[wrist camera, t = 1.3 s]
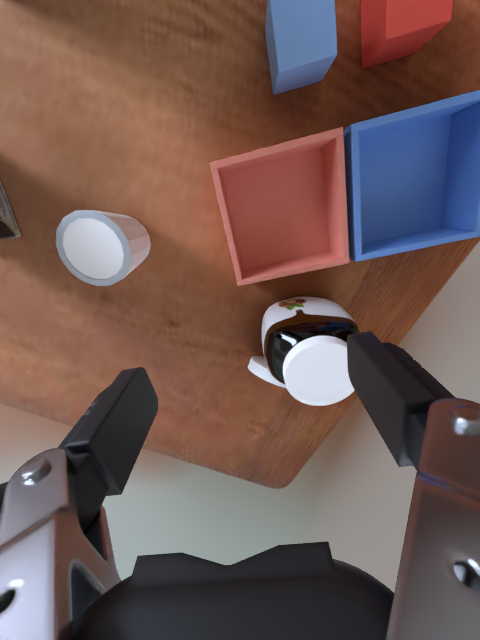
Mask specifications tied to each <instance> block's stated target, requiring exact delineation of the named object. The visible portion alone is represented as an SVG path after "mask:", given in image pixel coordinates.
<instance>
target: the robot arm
mask: <svg viewBox="0 0 480 640" xmlns="http://www.w3.org/2000/svg"><path fill="white" fill-rule="evenodd" d="M347 363H348V375H349V379H350V382H351V384H352V386H353V388H354V390H355V392H356V393H357V395H358V397H359V398H360V400H361V402H362V403H363V405H364V407H365V409H366V411H367V412H368V414H369V416H370V417H371V419H372V421H373V422H374V424H375V426H376V428H377V430H378V431H379V433H380V435H381V436H382V438H383V440H384V442H385V443H386V445H387V447H388V449H389V450H390V452H391V454H392V455H393V457H394V459H395V461H396V462H397V464H398V466H399V467H403V466H414V467H415V468H416V470H417V474H416V478H415V483H414V489H413V495H412V500H411V505H410V511H409V516H408V522H407V527H406V533H405V538H404V544H403V549H402V555H401V560H400V566H399V571H398V576H397V582H396V587H395V593H393V592H392V591H391V590H390V589H389V588H387V587H386V586H385V585H384V584H382V583H381V582H380V581H378V580H377V579H375V578H374V577H373V576H371V575H369V574H368V573H366V572H364V571H362V570H361V569H359V568H357V567H355V566H352V565H350V564H348V563H345V562H342V561H338V560H335V559H332V555H331V551H330V547H329V543H328V542H315V543H303V544H289V545H278V546H276V547H273V548H271V549H269V550H266V551H264V552H261V553H259V554H256V555H254V556H252V557H249V558H247V559H245V560H242V561H240V562H237V563H235V564H232V565H222V564H219V563H215V562H212V561H209V560H205V559H201V558H198V557H195V556H192V555H188V554H185V553H170V554H156V555H143V556H138V557H137V560H136V563H135V567H134V570H133V573H132V576H130V577H128V578H126V579H124V580H123V581H121V579H120V577H119V575H118V572H117V569H116V565H115V560H114V555H113V550H112V544H111V539H110V533H109V528H108V522H107V517H106V512H105V509H104V507H103V506H102V503H103V501H104V498H105V496H110V495H120V494H122V492H123V490H124V487H125V485H126V483H127V480H128V478H129V476H130V473H131V471H132V469H133V466H134V464H135V462H136V460H137V457H138V455H139V453H140V450H141V448H142V446H143V443H144V441H145V439H146V437H147V434H148V432H149V430H150V427H151V425H152V423H153V420H154V418H155V416H156V414H157V411H158V398H157V395H156V393H155V391H154V388H153V386H152V384H151V381H150V379H149V377H148V374H147V372H146V370H145V369H144V368H142V367H139V368H133V369H127V370H123V371H121V372H120V374H119V375H118V376H117V378H116V379H115V380H114V382H113V383H112V384H111V385H110V386H109V387H107V388H106V389H105V390H104V391H102V392H101V393H100V394H99V395H98V397H97V398H96V399H95V400H94V402H93V403H92V404H91V405H92V406H90V407H89V408H88V409H87V411H86V412H85V415H83V416H82V417H81V418H80V420H79V421H78V422H77V423H76V425H75V426H74V427H73V429H72V430H71V431H70V433H69V434H68V435H67V436H66V438H65V439H64V440H63V441H62V443H61V444H60V445H59V447H58V448H53V449H49V450H46V451H44V452H42V453H40V454H38V455H36V456H34V457H33V458H31V459H30V460H29V461H27V462H26V463H25V464H24V465H22V466H21V467H20V468H19V469H18V470H17V471H16V472H15V473H14V475H13V476H12V477H11V479H10V480H9V481H8V482H5V483H3V484H0V640H480V404H479V403H476V402H473V401H469V400H465V399H459V398H455V397H454V396H453V395H452V394H451V393H450V392H449V391H448V390H447V389H446V388H445V387H443V386H442V385H441V384H440V383H439V382H438V381H437V380H436V379H435V378H434V377H433V376H432V375H431V374H429V373H428V372H427V371H426V370H425V369H424V368H422V367H421V365H420V364H419V363H418V362H416V361H415V360H413V358H412V357H411V356H410V355H409V354H408V353H407V352H406V351H405V350H404V349H402V348H400V347H398V346H396V345H393V344H391V343H389V342H387V343H381V342H380V341H379V339H378V338H377V337H376V336H375V335H374V334H373V333H372V332H370V331H368V332H362V333H356V334H350V335H348V336H347Z"/></svg>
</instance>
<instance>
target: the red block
mask: <svg viewBox="0 0 480 640" xmlns="http://www.w3.org/2000/svg"><path fill="white" fill-rule="evenodd" d="M452 7H453V0H361V50H362V69H365V68H368V67H372V66H375V65H379V64H382V63H385V62H389V61H392V60H396V59H399V58H403V57H406V56H409V55H413V54H415V53H416V52H417V51H418V50H419V49H420V48H421V47H422V46H423V45H425V44H426V43H427V42H428V41H429V40H430V39H431V38H432V37H433V36H434V35H435V34H437V33H438V32H439V31H440V30H441V29H442V28H443V27H444V26H445V25H446V24H447V23H449V22H450V21H451V19H452Z"/></svg>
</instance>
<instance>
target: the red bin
mask: <svg viewBox="0 0 480 640" xmlns="http://www.w3.org/2000/svg"><path fill="white" fill-rule="evenodd" d="M210 168H211V172H212V176H213V181H214V185H215V189H216V194H217V198H218V202H219V207H220V211H221V215H222V219H223V224H224V228H225V232H226V237H227V241H228V245H229V250H230V254H231V258H232V262H233V267H234V271H235V275H236V280H237V284H238V286H241V285H246V284H251V283H256V282H261V281H266V280H270V279H275V278H280V277H285V276H290V275H295V274H299V273H304V272H309V271H314V270H319V269H324V268H328V267H333V266H338V265H343V264H348V263H349V241H348V220H347V198H346V177H345V155H344V136H343V127H339V128H336V129H332V130H328V131H324V132H321V133H317V134H313V135H310V136H306V137H302V138H298V139H295V140H291V141H287V142H283V143H280V144H276V145H272V146H269V147H265V148H261V149H257V150H254V151H250V152H246V153H242V154H239V155H235V156H231V157H228V158H224V159H220V160H216V161H213V162H210Z"/></svg>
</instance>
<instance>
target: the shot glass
mask: <svg viewBox="0 0 480 640" xmlns="http://www.w3.org/2000/svg"><path fill="white" fill-rule="evenodd" d="M56 246H57V249H58V253H59V256H60V259H61V260H62V261H63V263H64V264H65V266H66V267H67V268H68V270H69V271H70V272H71V273H72V274H74V275H75V276H76V277H78V278H79V279H80V280H82V281H84V282H87V283H89V284H92V285H95V286H110V285H112V284H114V283H116V282H118V281H120V280H122V279H123V278H124V277H125V276H127V275H128V274H129V273H130V272H131V271H132V270H134V269H135V268H136V267H137V266H138V265H139V264H141V263H142V262H143V261H144V260H145V258H146V257H147V256H148V254H149V251H150V247H151V243H150V237H149V234H148V232H147V230H146V229H145V227H144V226H143V225H142V224H141V223H140V222H139V221H138V220H137V219H135V218H133V217H130V216H127V215H122V214H116V213H109V212H102V211H95V210H75V211H74V212H72V213H70V214H68V215H67V216H65V217H63V219H62V221H61V223H60V224H59V226H58V228H57V231H56Z"/></svg>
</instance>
